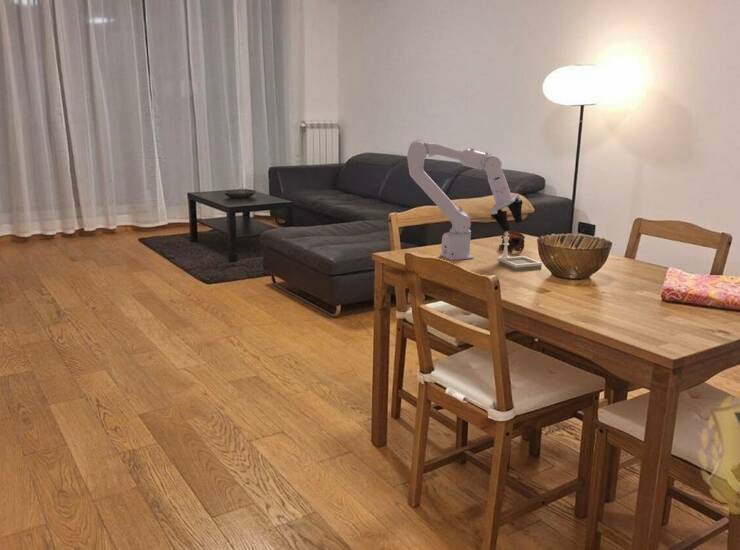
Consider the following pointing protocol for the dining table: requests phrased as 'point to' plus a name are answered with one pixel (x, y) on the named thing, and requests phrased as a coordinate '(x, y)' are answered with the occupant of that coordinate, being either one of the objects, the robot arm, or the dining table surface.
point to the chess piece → (505, 252)
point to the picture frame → (520, 263)
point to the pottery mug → (513, 241)
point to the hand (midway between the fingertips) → (512, 226)
